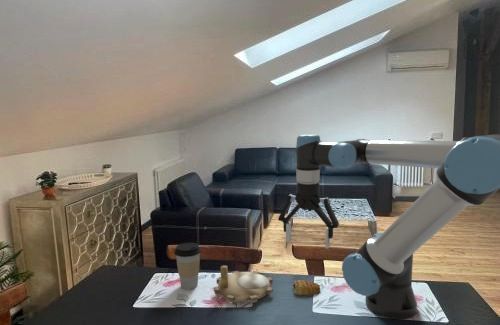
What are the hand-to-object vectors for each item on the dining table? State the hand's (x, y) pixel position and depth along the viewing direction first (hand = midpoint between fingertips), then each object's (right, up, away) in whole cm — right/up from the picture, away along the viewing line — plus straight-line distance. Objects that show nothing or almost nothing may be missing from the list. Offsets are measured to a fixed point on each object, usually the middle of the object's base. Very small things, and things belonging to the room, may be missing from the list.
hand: (307, 244), depth 117 cm
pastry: (0, -18, +5) cm, 18 cm away
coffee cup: (-42, -18, +10) cm, 46 cm away
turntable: (-21, -17, +5) cm, 28 cm away
